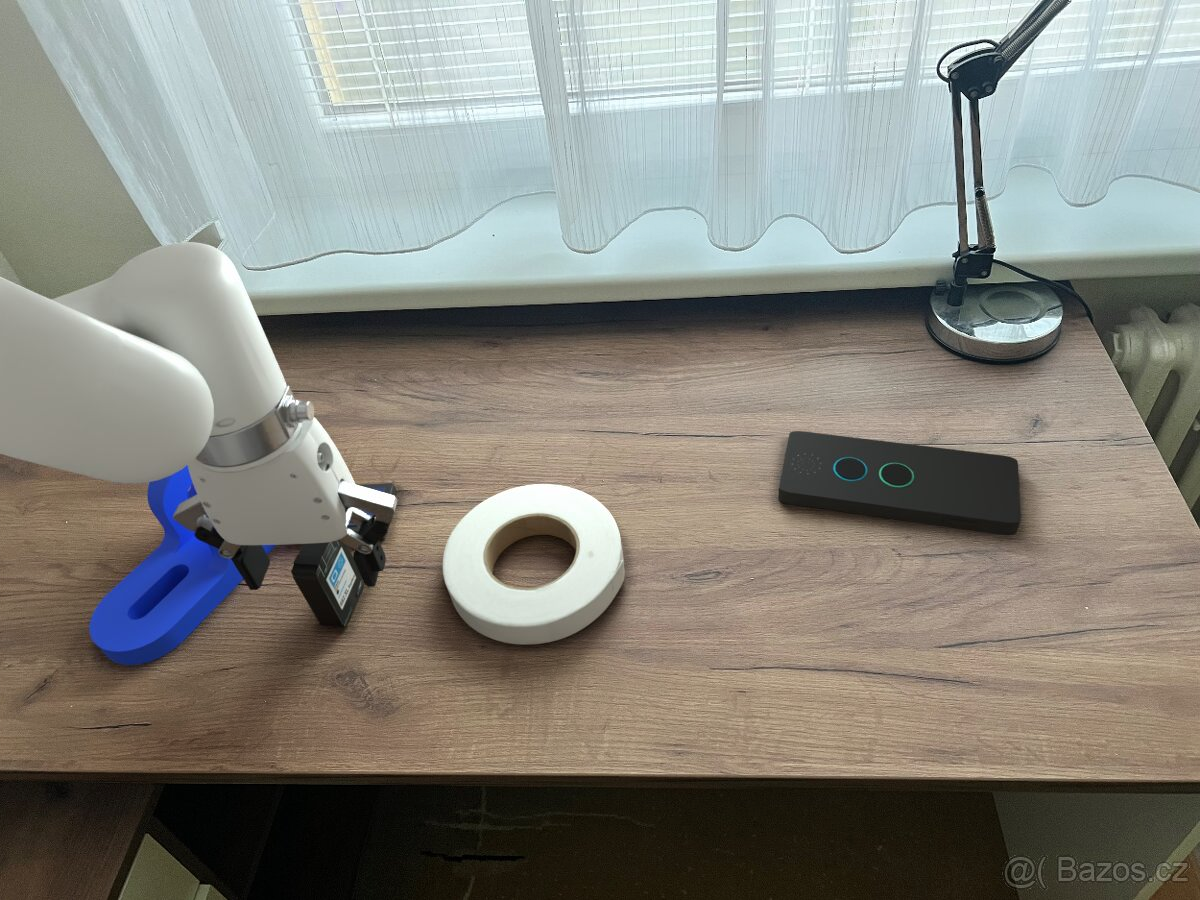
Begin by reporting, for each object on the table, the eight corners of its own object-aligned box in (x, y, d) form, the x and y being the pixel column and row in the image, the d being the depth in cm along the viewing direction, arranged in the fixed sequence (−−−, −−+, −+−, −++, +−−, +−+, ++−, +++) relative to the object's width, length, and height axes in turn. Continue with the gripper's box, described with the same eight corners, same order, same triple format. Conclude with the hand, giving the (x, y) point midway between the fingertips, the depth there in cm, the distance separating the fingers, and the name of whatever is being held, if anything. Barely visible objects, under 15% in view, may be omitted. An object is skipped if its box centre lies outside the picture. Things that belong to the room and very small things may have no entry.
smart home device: (790, 427, 83) (1018, 454, 78) (789, 440, 84) (1013, 468, 79) (777, 490, 77) (1022, 524, 72) (776, 503, 79) (1017, 538, 73)
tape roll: (438, 650, 71) (429, 631, 69) (459, 509, 82) (453, 488, 80) (627, 640, 70) (624, 620, 68) (624, 498, 81) (621, 477, 79)
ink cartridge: (346, 630, 73) (315, 572, 68) (321, 628, 74) (288, 570, 68) (367, 583, 77) (338, 524, 71) (342, 581, 77) (313, 522, 72)
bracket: (232, 500, 86) (194, 434, 80) (294, 526, 83) (259, 459, 76) (81, 643, 75) (22, 579, 69) (145, 679, 72) (90, 616, 66)
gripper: (374, 379, 62) (428, 536, 74) (143, 390, 63) (232, 542, 75) (349, 452, 57) (411, 609, 68) (96, 463, 58) (200, 615, 70)
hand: (317, 574), depth 72 cm, fingers open, 9 cm apart
